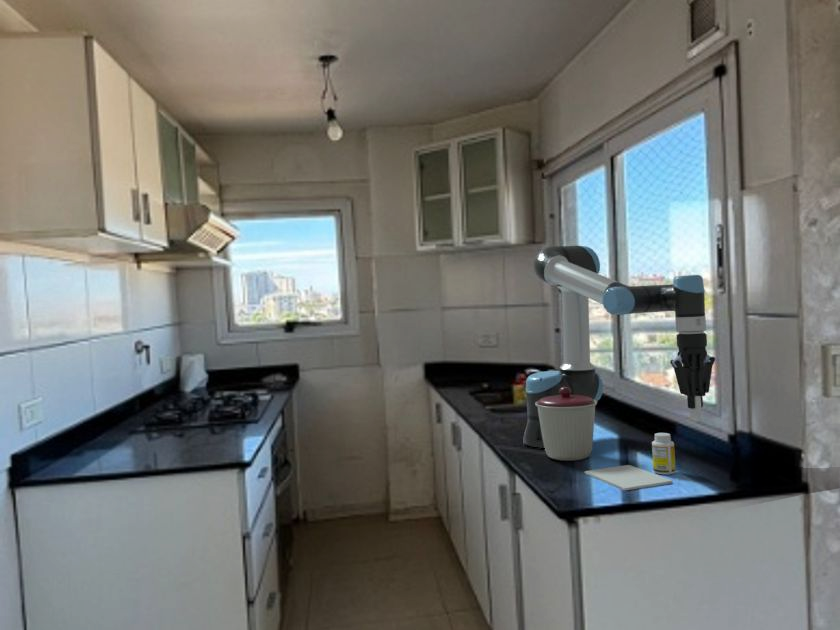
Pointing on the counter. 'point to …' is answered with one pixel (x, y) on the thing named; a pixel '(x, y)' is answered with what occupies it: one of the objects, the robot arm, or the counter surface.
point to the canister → (567, 425)
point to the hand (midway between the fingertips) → (696, 420)
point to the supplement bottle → (663, 454)
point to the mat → (628, 477)
